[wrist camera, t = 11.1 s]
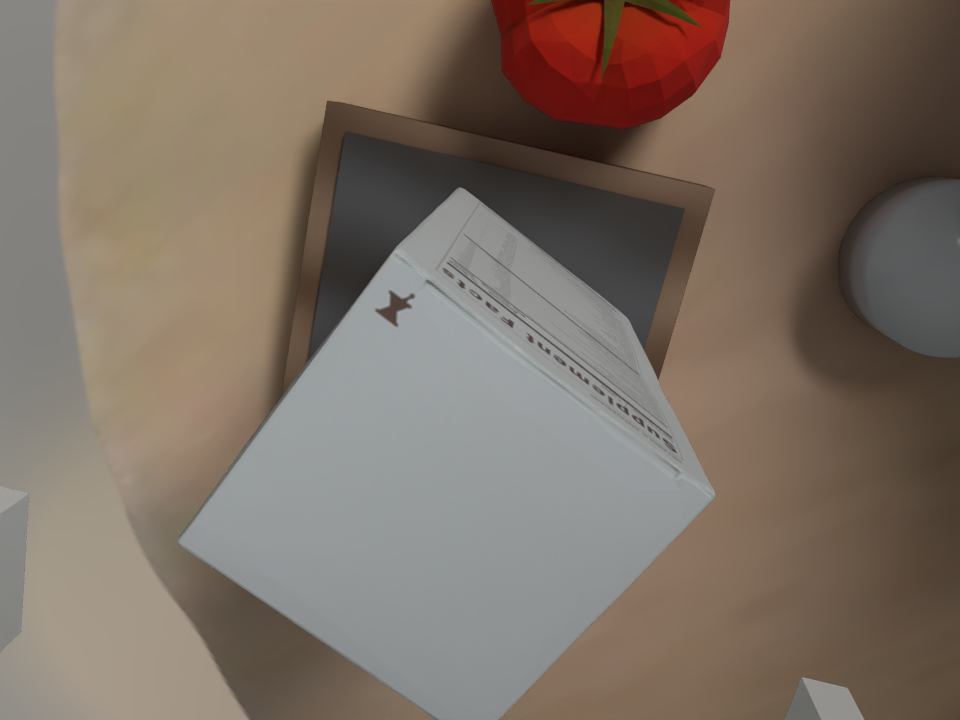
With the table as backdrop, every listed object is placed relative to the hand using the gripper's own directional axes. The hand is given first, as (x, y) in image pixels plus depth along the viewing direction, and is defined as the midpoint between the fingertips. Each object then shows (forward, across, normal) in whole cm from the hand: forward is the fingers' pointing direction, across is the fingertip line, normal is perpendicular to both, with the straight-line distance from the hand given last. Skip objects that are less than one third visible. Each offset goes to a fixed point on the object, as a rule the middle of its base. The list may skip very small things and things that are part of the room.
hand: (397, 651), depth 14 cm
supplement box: (+22, 0, 0) cm, 22 cm away
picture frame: (+25, 0, 0) cm, 25 cm away
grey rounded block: (+25, +18, +7) cm, 31 cm away
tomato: (+25, +2, +14) cm, 29 cm away
